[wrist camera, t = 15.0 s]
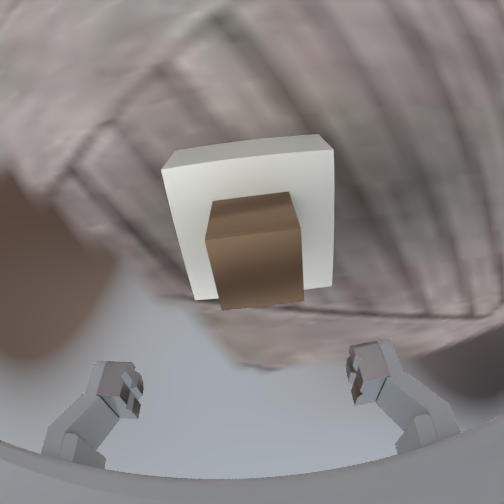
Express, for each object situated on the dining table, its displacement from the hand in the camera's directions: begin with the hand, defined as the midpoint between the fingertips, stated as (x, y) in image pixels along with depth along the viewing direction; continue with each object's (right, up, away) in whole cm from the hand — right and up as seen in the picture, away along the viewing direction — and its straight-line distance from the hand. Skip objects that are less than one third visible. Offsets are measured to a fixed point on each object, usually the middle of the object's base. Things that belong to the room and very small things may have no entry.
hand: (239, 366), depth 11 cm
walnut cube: (+1, +6, +11) cm, 12 cm away
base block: (+1, +8, +15) cm, 17 cm away
